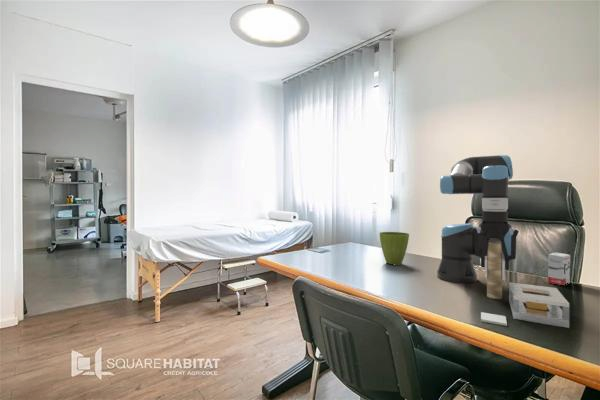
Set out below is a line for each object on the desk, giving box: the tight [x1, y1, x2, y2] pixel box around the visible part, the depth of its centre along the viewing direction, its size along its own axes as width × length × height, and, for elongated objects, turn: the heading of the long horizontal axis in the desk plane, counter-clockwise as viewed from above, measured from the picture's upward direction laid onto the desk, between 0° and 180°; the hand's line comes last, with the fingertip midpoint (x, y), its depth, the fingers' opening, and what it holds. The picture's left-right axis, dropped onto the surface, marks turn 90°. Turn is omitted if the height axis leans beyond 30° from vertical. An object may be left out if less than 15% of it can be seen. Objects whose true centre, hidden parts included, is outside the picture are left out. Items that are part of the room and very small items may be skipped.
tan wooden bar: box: [486, 239, 503, 300], centre depth 104 cm, size 4×4×20 cm
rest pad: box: [480, 311, 508, 327], centre depth 85 cm, size 6×6×1 cm
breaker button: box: [525, 301, 547, 310], centre depth 89 cm, size 5×5×2 cm
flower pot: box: [378, 231, 410, 266], centre depth 157 cm, size 15×15×16 cm
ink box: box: [547, 252, 571, 286], centre depth 121 cm, size 8×5×12 cm, turn 123°
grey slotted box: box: [508, 281, 570, 329], centre depth 89 cm, size 12×16×6 cm
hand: (494, 277), depth 104 cm, fingers closed on tan wooden bar, 4 cm apart
